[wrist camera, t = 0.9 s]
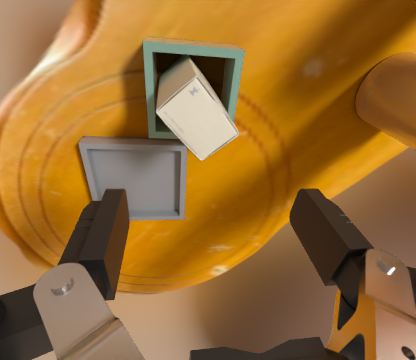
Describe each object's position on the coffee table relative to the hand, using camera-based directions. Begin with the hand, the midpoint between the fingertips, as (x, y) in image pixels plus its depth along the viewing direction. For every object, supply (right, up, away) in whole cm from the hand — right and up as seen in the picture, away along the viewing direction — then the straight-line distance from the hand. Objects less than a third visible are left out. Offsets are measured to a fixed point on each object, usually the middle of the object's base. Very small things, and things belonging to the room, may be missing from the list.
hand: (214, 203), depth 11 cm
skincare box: (-2, +13, +18) cm, 22 cm away
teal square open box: (-2, +13, +18) cm, 22 cm away
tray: (-11, +1, +25) cm, 27 cm away
